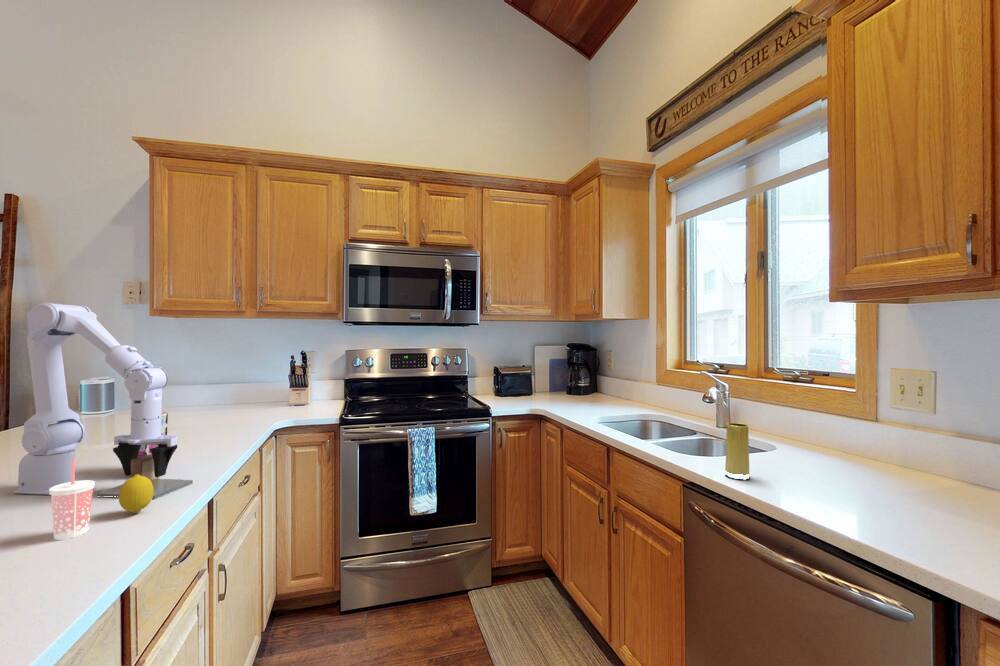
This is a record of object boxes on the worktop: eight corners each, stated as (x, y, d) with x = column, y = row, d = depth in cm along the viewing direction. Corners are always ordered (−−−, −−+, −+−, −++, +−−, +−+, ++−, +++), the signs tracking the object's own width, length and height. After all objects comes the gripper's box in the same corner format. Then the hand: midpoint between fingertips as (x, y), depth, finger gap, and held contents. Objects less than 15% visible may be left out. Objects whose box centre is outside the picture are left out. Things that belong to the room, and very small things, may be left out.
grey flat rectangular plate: (96, 496, 99) (96, 493, 99) (140, 481, 110) (140, 478, 110) (154, 499, 98) (154, 495, 98) (192, 483, 109) (192, 480, 109)
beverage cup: (91, 524, 85) (92, 452, 85) (97, 533, 81) (98, 457, 81) (46, 535, 80) (47, 458, 80) (50, 545, 76) (51, 464, 77)
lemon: (133, 520, 87) (134, 479, 87) (111, 517, 88) (111, 477, 88) (160, 509, 93) (160, 471, 93) (138, 507, 94) (139, 469, 94)
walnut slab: (130, 489, 102) (131, 459, 102) (149, 482, 107) (149, 454, 107) (140, 490, 102) (140, 460, 102) (158, 483, 107) (159, 454, 107)
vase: (721, 473, 123) (721, 421, 123) (744, 474, 122) (744, 422, 122) (729, 479, 117) (729, 426, 117) (754, 481, 116) (754, 427, 116)
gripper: (101, 420, 101) (100, 479, 101) (160, 422, 100) (159, 481, 100) (130, 415, 108) (128, 470, 108) (185, 416, 107) (184, 472, 107)
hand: (145, 475), depth 104 cm, fingers open, 7 cm apart
